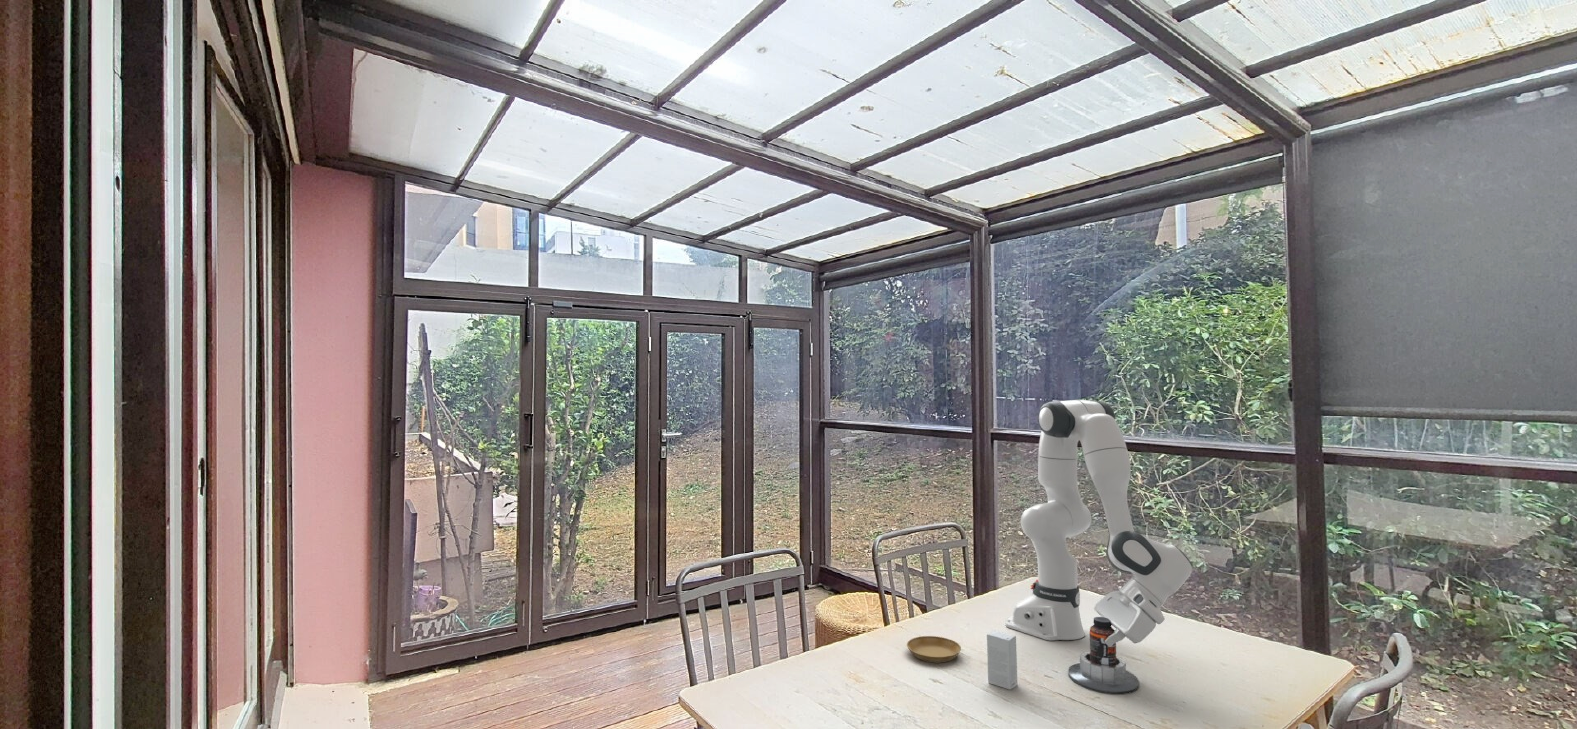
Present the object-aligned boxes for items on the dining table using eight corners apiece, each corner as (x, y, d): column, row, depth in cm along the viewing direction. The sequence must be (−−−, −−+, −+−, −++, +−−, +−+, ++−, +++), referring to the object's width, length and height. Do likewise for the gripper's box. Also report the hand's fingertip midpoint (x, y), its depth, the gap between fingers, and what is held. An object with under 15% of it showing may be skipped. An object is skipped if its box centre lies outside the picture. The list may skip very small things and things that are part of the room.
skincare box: (1017, 684, 161) (1017, 635, 162) (1010, 690, 158) (1009, 640, 159) (994, 677, 165) (993, 629, 166) (987, 683, 162) (986, 634, 163)
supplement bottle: (1112, 671, 160) (1110, 625, 160) (1087, 665, 164) (1085, 619, 164) (1119, 664, 164) (1118, 618, 165) (1094, 658, 168) (1093, 613, 169)
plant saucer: (940, 671, 170) (940, 661, 170) (896, 654, 181) (895, 645, 181) (971, 656, 180) (971, 646, 180) (928, 641, 191) (928, 632, 191)
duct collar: (1059, 680, 163) (1058, 660, 164) (1080, 661, 175) (1079, 642, 175) (1128, 700, 153) (1128, 679, 153) (1146, 678, 165) (1145, 658, 165)
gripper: (1111, 579, 175) (1075, 615, 175) (1148, 603, 154) (1107, 644, 155) (1129, 596, 174) (1093, 632, 174) (1168, 622, 154) (1127, 664, 154)
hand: (1100, 638), depth 164 cm, fingers closed on supplement bottle, 6 cm apart
